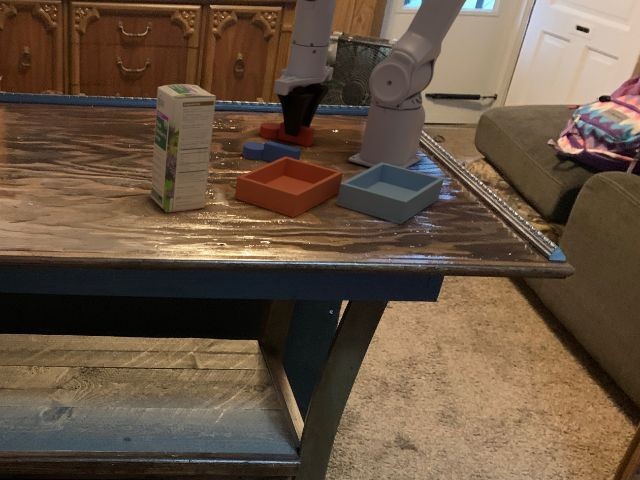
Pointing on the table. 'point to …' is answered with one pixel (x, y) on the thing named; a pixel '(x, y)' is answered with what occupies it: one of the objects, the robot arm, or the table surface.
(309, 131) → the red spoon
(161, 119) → the syrup box
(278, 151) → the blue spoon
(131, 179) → the table surface
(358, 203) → the blue bin
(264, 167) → the red bin
